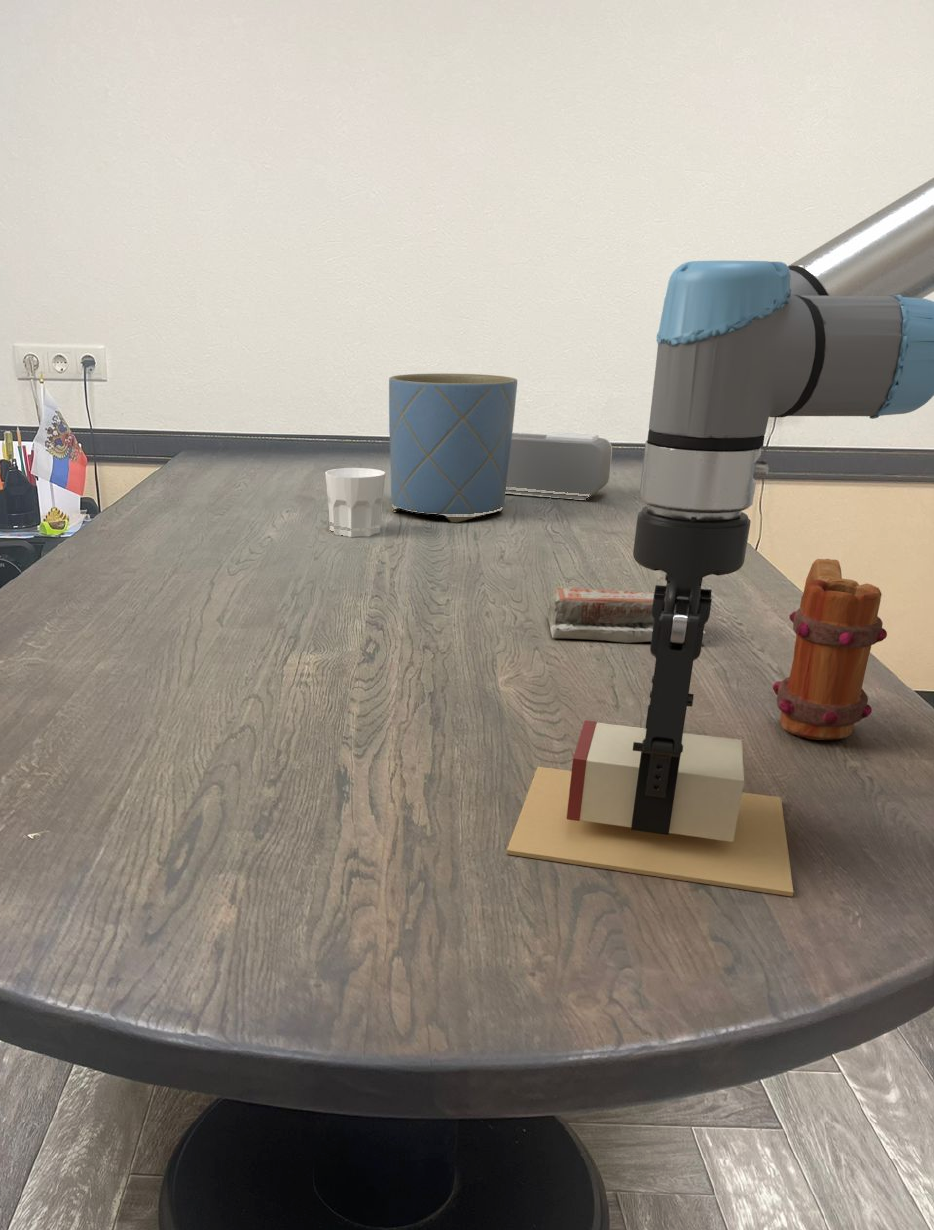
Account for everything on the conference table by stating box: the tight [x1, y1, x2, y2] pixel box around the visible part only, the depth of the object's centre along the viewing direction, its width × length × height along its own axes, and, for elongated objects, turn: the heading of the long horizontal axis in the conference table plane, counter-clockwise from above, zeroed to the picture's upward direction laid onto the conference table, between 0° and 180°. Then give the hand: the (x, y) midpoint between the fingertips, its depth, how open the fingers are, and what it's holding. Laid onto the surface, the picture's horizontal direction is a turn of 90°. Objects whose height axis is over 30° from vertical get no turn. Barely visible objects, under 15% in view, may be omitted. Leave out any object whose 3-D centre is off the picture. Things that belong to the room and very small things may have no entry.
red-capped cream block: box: [567, 719, 745, 842], centre depth 83 cm, size 8×12×5 cm
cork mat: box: [506, 766, 794, 898], centre depth 84 cm, size 20×16×1 cm
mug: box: [772, 558, 888, 741], centre depth 102 cm, size 15×8×15 cm, turn 170°
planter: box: [388, 373, 518, 523], centre depth 196 cm, size 23×23×24 cm
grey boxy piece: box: [547, 587, 707, 645], centre depth 131 cm, size 18×5×10 cm
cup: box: [324, 467, 386, 538], centre depth 182 cm, size 10×10×10 cm
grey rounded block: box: [505, 431, 613, 501], centre depth 217 cm, size 27×9×12 cm, turn 66°
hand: (652, 805), depth 84 cm, fingers closed on red-capped cream block, 8 cm apart
